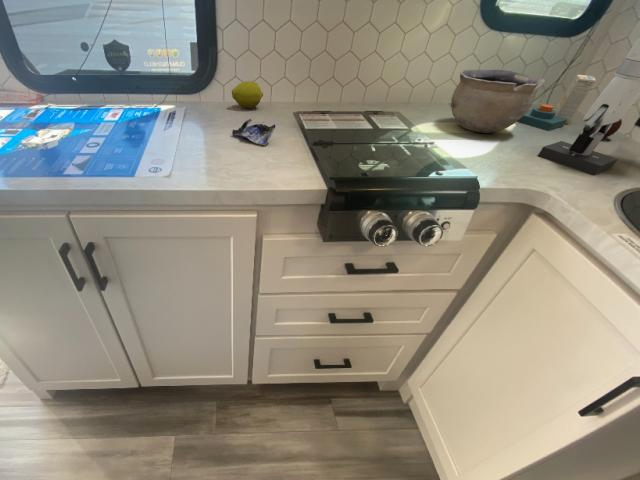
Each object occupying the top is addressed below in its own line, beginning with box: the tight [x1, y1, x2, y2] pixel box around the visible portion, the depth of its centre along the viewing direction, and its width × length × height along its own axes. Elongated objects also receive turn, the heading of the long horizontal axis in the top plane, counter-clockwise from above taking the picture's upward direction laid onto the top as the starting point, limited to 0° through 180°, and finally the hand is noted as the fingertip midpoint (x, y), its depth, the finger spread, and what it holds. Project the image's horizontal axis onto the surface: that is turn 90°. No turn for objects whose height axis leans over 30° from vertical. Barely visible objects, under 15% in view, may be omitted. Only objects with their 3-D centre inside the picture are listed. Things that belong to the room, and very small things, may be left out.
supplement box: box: [554, 74, 597, 125], centre depth 116 cm, size 8×5×13 cm, turn 147°
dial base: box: [537, 140, 619, 176], centre depth 93 cm, size 14×10×3 cm
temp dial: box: [572, 132, 604, 155], centre depth 90 cm, size 4×4×5 cm
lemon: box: [231, 80, 264, 109], centre depth 117 cm, size 11×8×8 cm
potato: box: [593, 118, 623, 139], centre depth 107 cm, size 7×8×7 cm
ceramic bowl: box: [450, 69, 546, 134], centre depth 106 cm, size 22×22×15 cm
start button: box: [538, 103, 554, 112], centre depth 115 cm, size 4×4×2 cm
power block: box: [517, 106, 568, 131], centre depth 117 cm, size 12×10×4 cm
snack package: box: [231, 118, 276, 147], centre depth 98 cm, size 12×6×12 cm
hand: (581, 149), depth 92 cm, fingers open, 5 cm apart
